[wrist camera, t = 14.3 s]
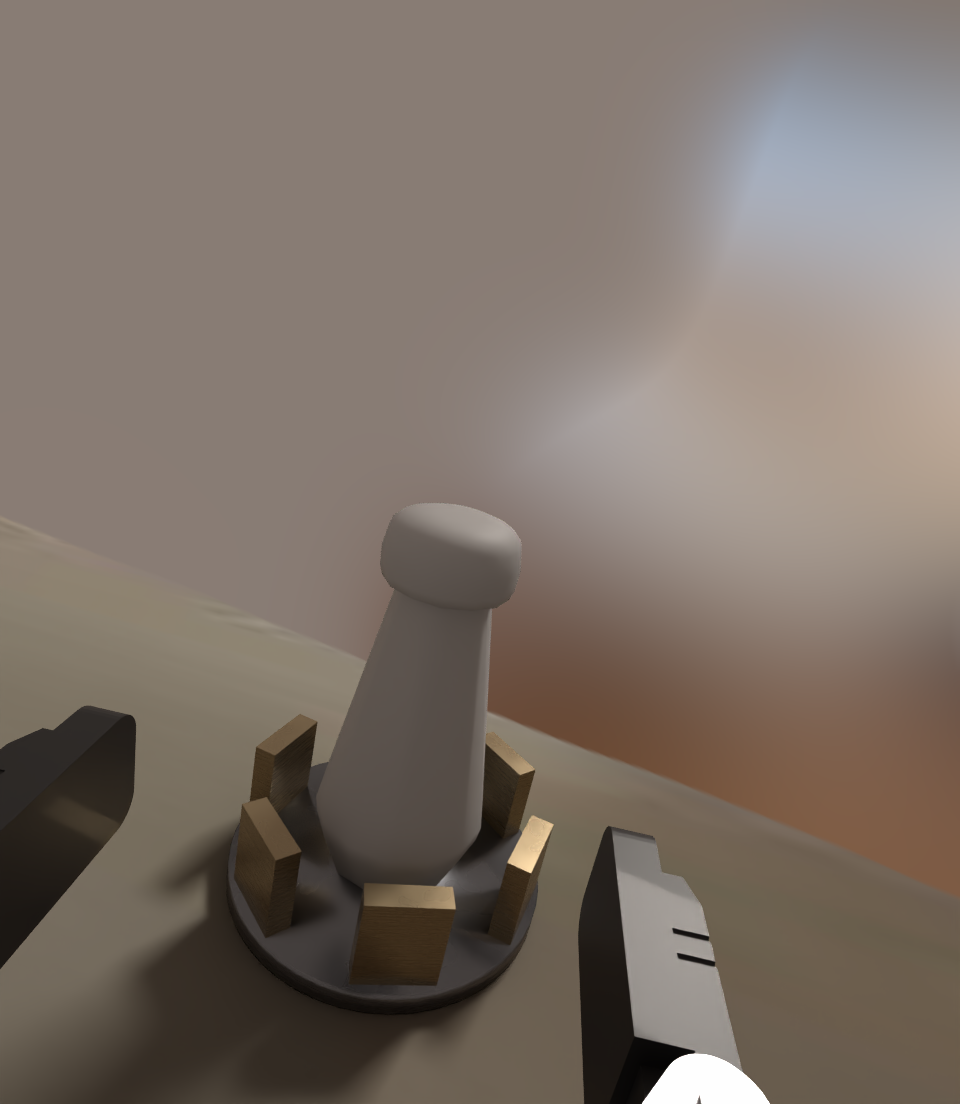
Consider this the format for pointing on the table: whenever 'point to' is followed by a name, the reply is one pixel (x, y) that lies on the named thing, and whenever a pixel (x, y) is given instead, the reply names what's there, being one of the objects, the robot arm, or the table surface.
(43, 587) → the table surface
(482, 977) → the disc with wooden blocks
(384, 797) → the salt shaker
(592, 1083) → the robot arm
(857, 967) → the table surface
